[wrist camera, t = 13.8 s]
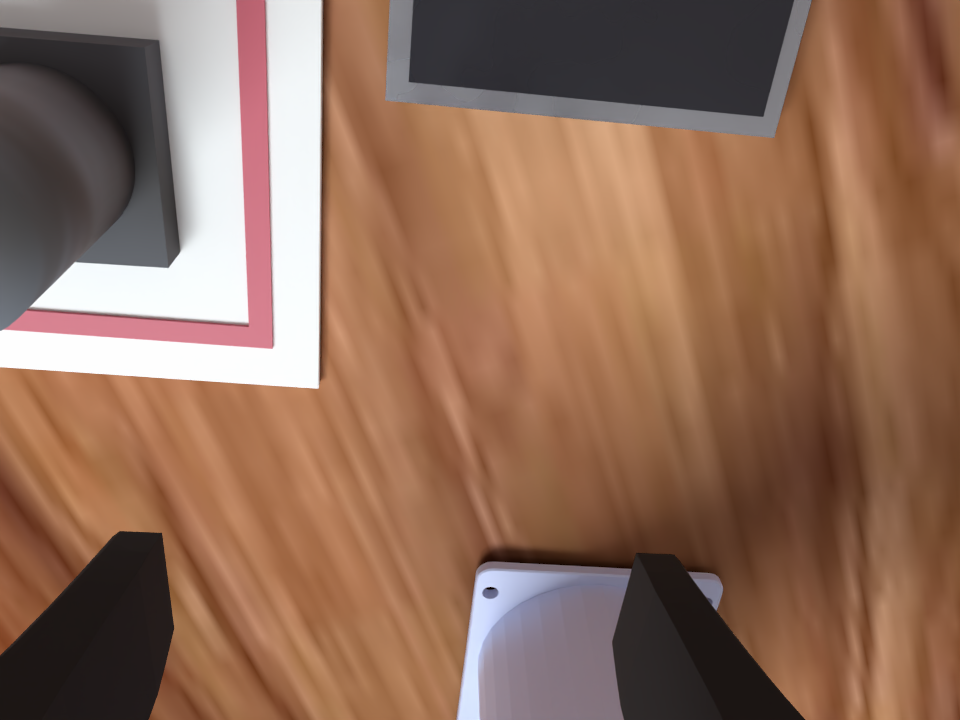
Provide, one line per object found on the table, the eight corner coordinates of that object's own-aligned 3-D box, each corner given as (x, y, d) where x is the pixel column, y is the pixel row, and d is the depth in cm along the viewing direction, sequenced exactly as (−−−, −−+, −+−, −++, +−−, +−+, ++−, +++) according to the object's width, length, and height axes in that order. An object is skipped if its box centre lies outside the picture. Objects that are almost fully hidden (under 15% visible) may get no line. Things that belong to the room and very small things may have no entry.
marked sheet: (320, 382, 23) (318, 390, 23) (-136, 351, 22) (-145, 358, 22) (324, -113, 17) (321, -113, 17) (-296, -184, 16) (-311, -186, 16)
